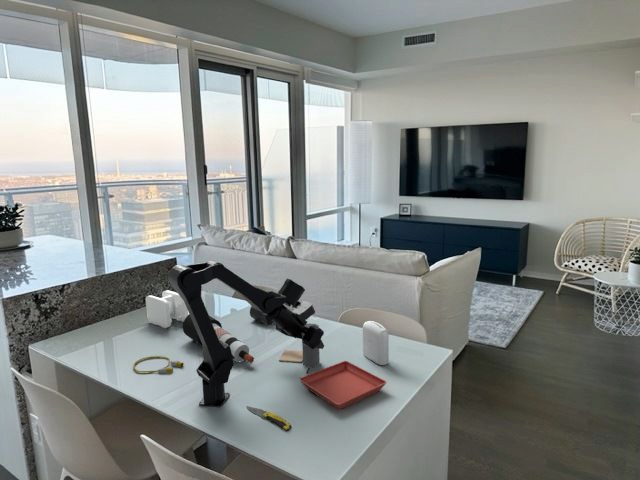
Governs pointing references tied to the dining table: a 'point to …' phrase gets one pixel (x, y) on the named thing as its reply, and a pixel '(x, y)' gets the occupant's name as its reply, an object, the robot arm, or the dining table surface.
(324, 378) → the plant saucer
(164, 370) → the extension cord
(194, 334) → the cable
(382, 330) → the photo printer
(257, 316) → the end cap
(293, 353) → the tan pad
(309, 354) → the octagonal tapered tumbler
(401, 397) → the dining table surface
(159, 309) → the cable organizer
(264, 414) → the utility knife
